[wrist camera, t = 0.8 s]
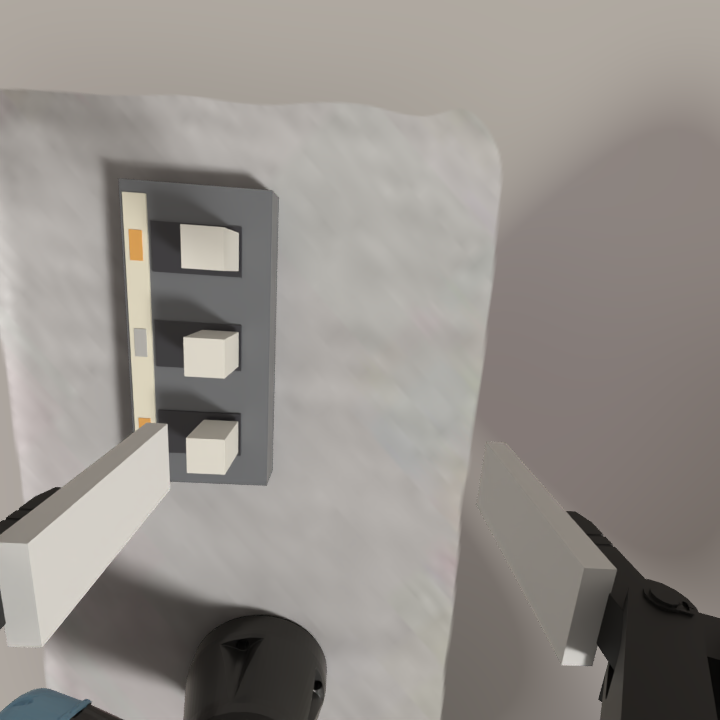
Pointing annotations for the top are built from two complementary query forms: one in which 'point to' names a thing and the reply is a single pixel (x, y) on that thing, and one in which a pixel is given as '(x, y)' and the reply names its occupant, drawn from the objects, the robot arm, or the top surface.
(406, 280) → the top surface
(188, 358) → the tab
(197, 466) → the tab
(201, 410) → the switch bank
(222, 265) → the tab
